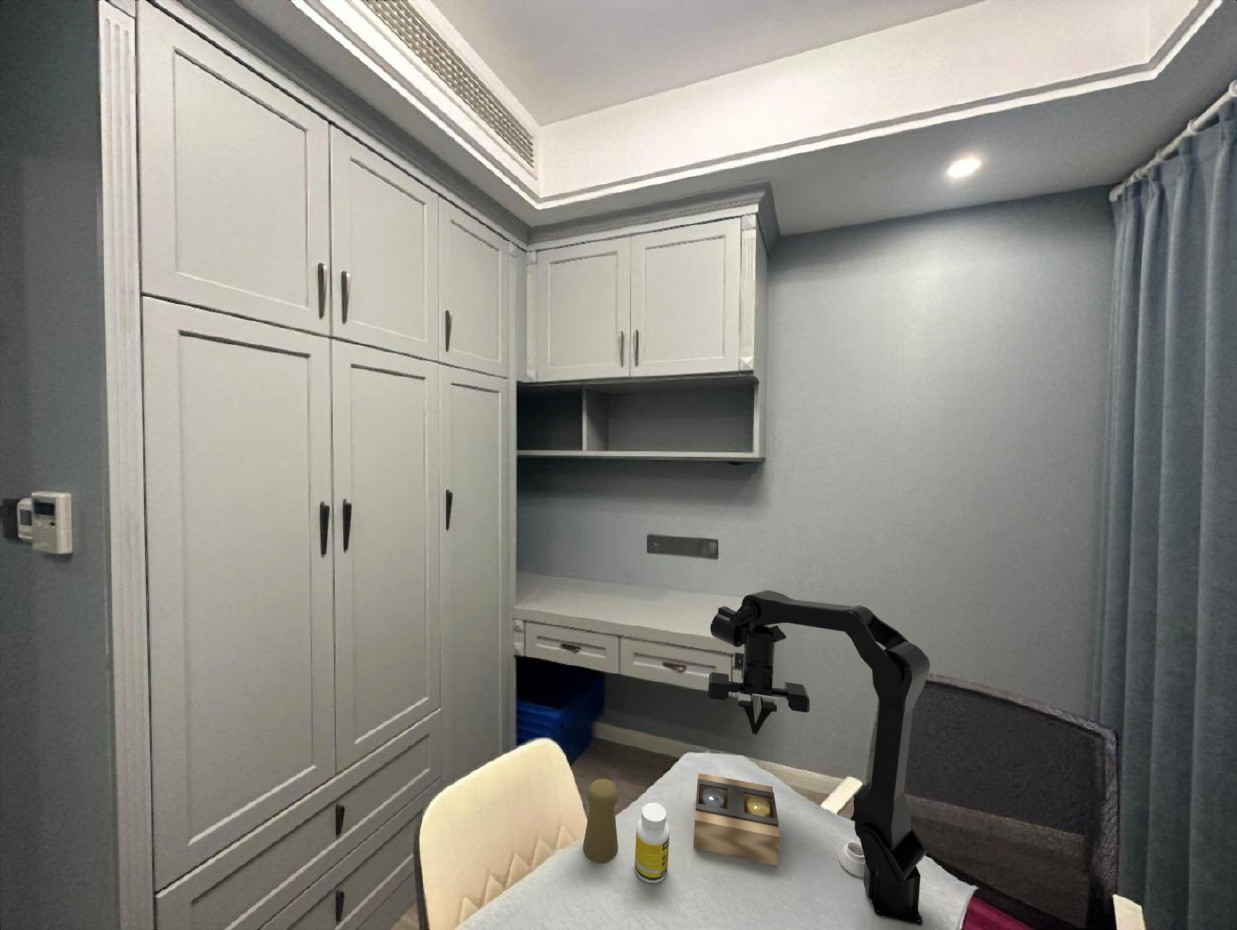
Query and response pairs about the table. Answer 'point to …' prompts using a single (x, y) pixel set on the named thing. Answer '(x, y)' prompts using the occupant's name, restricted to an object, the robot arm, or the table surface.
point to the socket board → (736, 821)
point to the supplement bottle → (652, 844)
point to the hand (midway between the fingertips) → (754, 733)
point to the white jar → (853, 858)
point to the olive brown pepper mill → (601, 822)
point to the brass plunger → (758, 807)
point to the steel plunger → (713, 798)
